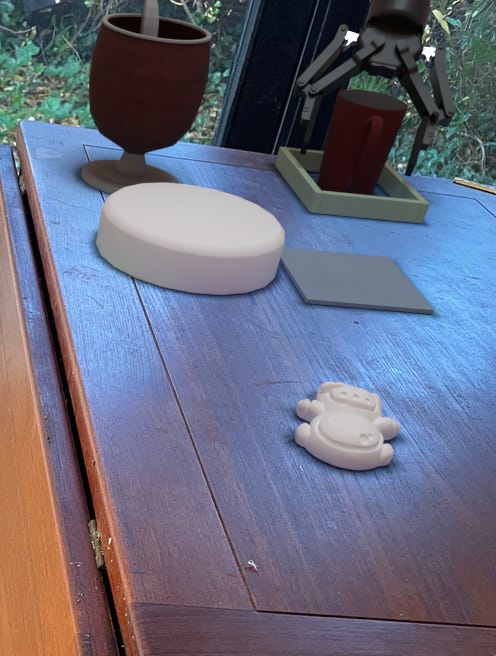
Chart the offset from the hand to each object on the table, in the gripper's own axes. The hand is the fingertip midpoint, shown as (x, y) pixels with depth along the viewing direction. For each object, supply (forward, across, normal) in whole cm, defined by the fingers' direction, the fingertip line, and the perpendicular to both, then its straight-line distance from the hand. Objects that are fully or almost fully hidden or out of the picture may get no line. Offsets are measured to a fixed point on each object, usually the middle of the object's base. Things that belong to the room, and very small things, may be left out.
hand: (356, 159), depth 128 cm
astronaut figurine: (+49, -3, +42) cm, 64 cm away
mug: (+2, 0, -5) cm, 5 cm away
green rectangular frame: (+2, 0, -5) cm, 5 cm away
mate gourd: (+11, +27, +4) cm, 30 cm away
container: (+26, +16, +20) cm, 37 cm away
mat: (+24, -2, +17) cm, 30 cm away
